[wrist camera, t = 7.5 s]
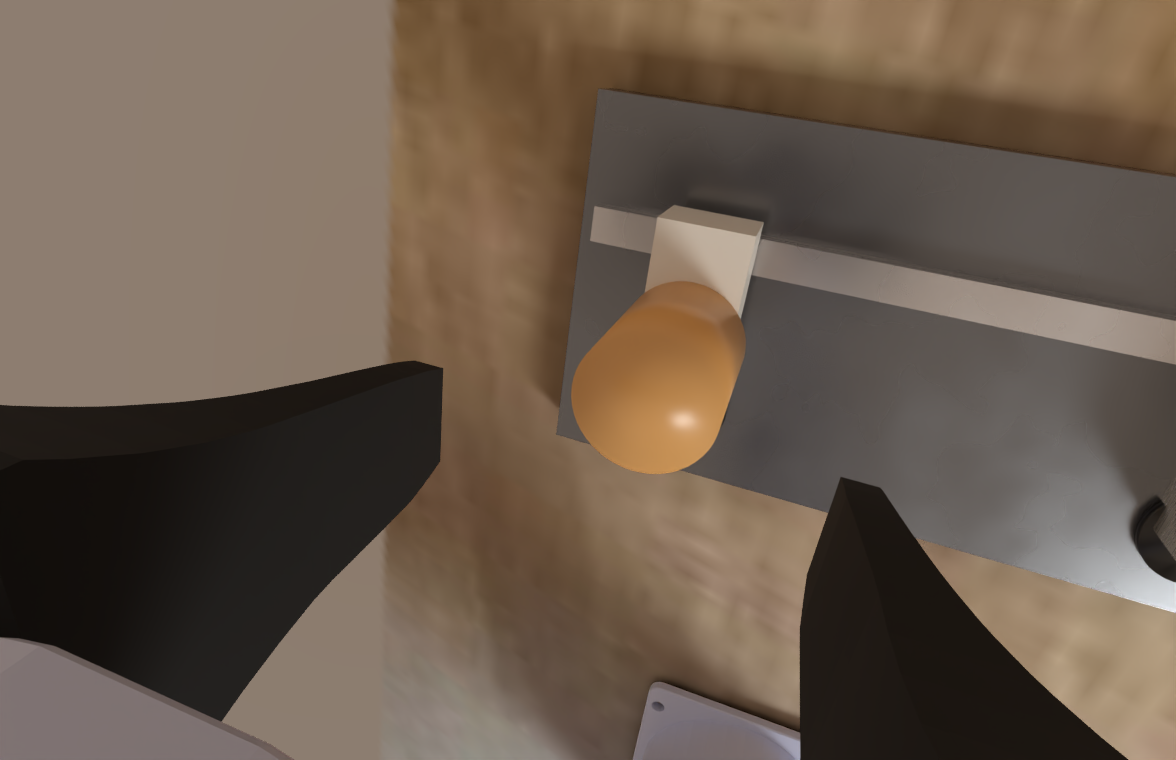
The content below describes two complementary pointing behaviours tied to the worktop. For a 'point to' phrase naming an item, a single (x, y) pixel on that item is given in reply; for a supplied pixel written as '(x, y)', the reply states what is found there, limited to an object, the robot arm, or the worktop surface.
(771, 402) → the hole plate
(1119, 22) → the worktop surface
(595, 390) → the block with orange knob
